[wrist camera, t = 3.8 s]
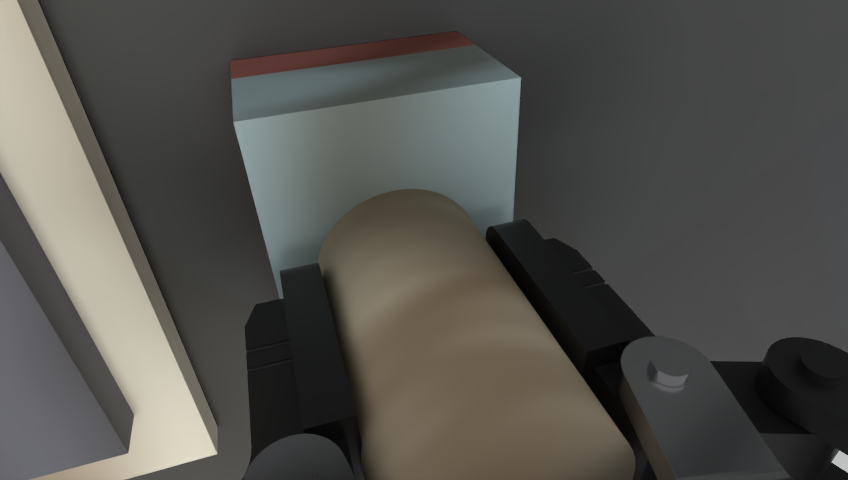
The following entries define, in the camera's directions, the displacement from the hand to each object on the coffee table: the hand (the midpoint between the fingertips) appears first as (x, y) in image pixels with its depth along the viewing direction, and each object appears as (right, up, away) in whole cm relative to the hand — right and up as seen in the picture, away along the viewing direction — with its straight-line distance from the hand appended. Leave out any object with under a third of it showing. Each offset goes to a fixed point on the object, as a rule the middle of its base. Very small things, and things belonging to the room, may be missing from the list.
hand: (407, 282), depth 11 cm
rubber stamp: (-1, +2, +3) cm, 4 cm away
